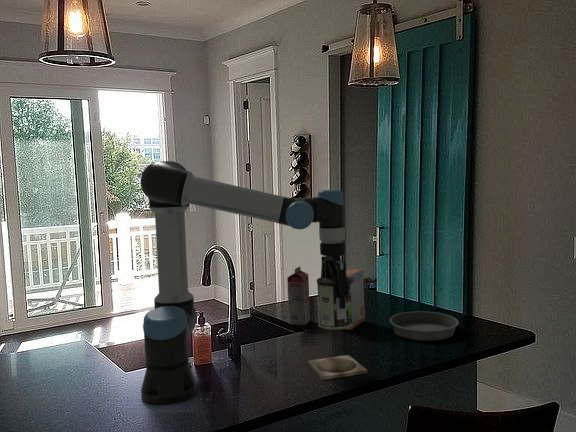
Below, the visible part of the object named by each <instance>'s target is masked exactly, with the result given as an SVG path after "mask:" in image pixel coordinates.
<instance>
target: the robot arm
mask: <svg viewBox="0 0 576 432" xmlns="http://www.w3.org/2000/svg"><path fill="white" fill-rule="evenodd" d="M140 187H141V190H142V193H144V195H145V196H146V197H147V198H148V206H149V207H148V209H149V210H150V211H152V212H153V213H154V222H155V223H154V224H155V237H156V239H155V240H156V242H155V243H156V258H157V260H156V261H157V276H158V277H157V278H158V279H157V280H158V281H157V282H158V294H157V295H155V297H154V299H153V300H154V301H153V302H154V309H150V310H149V311H148V312H147V313H146V314H145V315H144V316H143V325H142V328H143V329H142V330H143V335H144V336H143V340H144V352H145V353H144V354H145V355H144V356H145V367H146V368H145V373H144V377H143V380H142V385H141V388H140V390H141V392H140V393H141V394H140V395H141V399H142V401H143V402H145V403H147V404H150V405H155V406H156V405H157V406H158V405H159V406H166V405H168V406H169V405H173V404H178V403H181V402H185V401H188V400H189V399H191V398H192V397H194V396H195V395H196V393H197V391H198V387H197V385H198V384H197V381H196V377H195V376H194V373H193V370H192V368H191V366H190V361H189V359H190V357H189V338H190V336H191V335H192V333H193V332H194V330H195V328H196V325H197V322H198V321H197V320H198V314H197V310H196V308H195V301H194V300H195V299H194V295H193V294H192V293H191V292H190V291H189V280H188V262H187V261H188V260H187V240H186V238H187V237H186V221H185V220H186V219H185V212H186V211H187V209H188V208H189V207H190V205H192V206H193V205H194V206H199V207H203V208H208V209H213V210H216V211H217V210H218V211H220V212H224V213H225V212H226V213H230V214H234V215H239V216H244V217H248V218H252V219H257V220H261V221H267V222H271V223H276V224H279V225H283V226H287V227H291V228H292V229H294V230H305V229H307V228H308V227H310V226H311V224H312V223H313V224H314V223H319V225H318V226H319V227H318V229H319V230H318V231H319V235H318V236H319V241H320V243H319V252H320V256H321V257H320V258H321V269H320V271H321V272H320V278H321V277H325V278H331V277H333V278H334V282H336V292H337V296H336V297H335V298H336V307H337V320H340V319H346V297H347V296H349V290H348V283H347V276H346V270H347V269H346V267H347V265H346V264H347V263H346V262H345V261H343V262H342V260H341V256H344V255H345V254H346V242H345V239H346V237H345V234H346V232H347V231H346V230H347V229H345V204H344V201H345V200H344V192H343V191H342V190H341V189H322V190H318V192H317V196H313V197H285V196H282V195H277V194H273V193H269V192H264V191H261V190H256V189H251V188H247V187H242V186H239V185H235V184H230V183H225V182H221V181H215V180H213V179H207V178H203V177H199V176H195V175H194V174H193V172H192V171H189V170H187V168H185V167H184V165H182V164H180V163H178V162H177V161H173V160H171V161H170V160H160V161H159V160H158V161H154V162H151V163H150V164H149V165H147V166H146V167H145V168H144V169H143V171H142V172H141V176H140ZM337 282H338V284H337Z"/></svg>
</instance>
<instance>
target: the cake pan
mask: <svg viewBox="0 0 576 432" xmlns="http://www.w3.org/2000/svg"><path fill="white" fill-rule="evenodd" d="M389 324H391V325H392V328H393V331H394V333H395V335H397V336H398V337H401V338H403V339H404V338H405V339H408V340H413V341H426V342H427V341H430V342H431V341H441V340H445V339H446V340H447V339H449V338H451V337H453V335H454V334H455V331H456V327H458V325H459V324H460V322H459V319H457V318H456V317H454V316H453V315H449V314H446V313H441V312H436V311H425V310H423V311H422V310H419V311H417V310H416V311H407V312H406V311H405V312H399V313H397V314H393V315H392V316H391V317H390V318H389Z"/></svg>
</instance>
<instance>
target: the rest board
mask: <svg viewBox="0 0 576 432" xmlns="http://www.w3.org/2000/svg"><path fill="white" fill-rule="evenodd" d="M307 365H308V367H310V369H312V370H313V371H314V373H315V374H316V375H317V376H318V377H319V378H320V379H321V380H322V381H325V380H334V379H339V378H344V377H352V376H357V375H364V374H368V369H366V368H365V366H363V365H362V364H361V363H359V362H358V361H357V360H356V359H354V358H353V357H352V356H350V355H349V354H346V355H338V356H332V357H325V358H318V359H317V358H316V359H310V360H307Z"/></svg>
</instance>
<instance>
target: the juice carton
mask: <svg viewBox="0 0 576 432" xmlns="http://www.w3.org/2000/svg"><path fill="white" fill-rule="evenodd" d="M286 279H287V280H286V281H287V306H288V324H289V325H297V326H298V325H301V326H306V325H307V324H308V323H309V322H310V321H311V313H310V311H311V309H310V282H309V274H308V273H307V272H304V271H303V270H302V269H301V266H298V267H296V268H294V272H293V273H292V274H291V275H288V277H287V278H286Z"/></svg>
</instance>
